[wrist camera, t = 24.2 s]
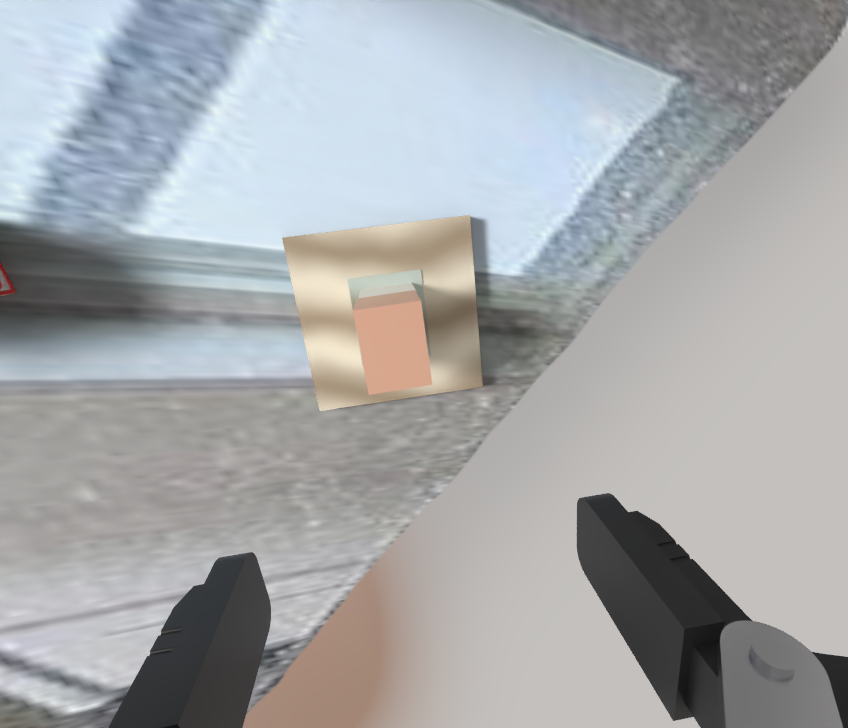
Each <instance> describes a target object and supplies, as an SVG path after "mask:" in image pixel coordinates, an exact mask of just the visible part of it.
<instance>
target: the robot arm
mask: <svg viewBox="0 0 848 728" xmlns="http://www.w3.org/2000/svg"><path fill="white" fill-rule="evenodd" d="M577 552H578V557H579V560H580V563H581V566H582V569H583V571H584V573H585V575H586V576H587V578H588V580H589V581H590V583H591V585H592V586H593V588H594V590H595V591H596V593H597V595H598V596H599V598H600V600H601V601H602V603H603V605H604V606H605V608H606V610H607V611H608V613H609V615H610V616H611V618H612V620H613V621H614V623H615V625H616V626H617V628H618V630H619V631H620V633H621V635H622V636H623V638H624V640H625V641H626V643H627V645H628V646H629V648H630V649H631V651H632V653H633V654H634V656H635V658H636V660H637V661H638V663H639V665H640V666H641V668H642V669H643V671H644V673H645V674H646V676H647V678H648V679H649V681H650V683H651V684H652V686H653V688H654V689H655V691H656V693H657V694H658V696H659V698H660V699H661V701H662V703H663V704H664V706H665V708H666V709H667V711H668V713H669V714H670V716H671V718H672V719H673V721H675V720H680V719H684V718H689V717H694V718H695V719H696V721H697V722H698V724H699V726H700V727H701V728H848V657H843V656H834V655H827V654H820V653H815V652H811V651H810V650H809V649H808V648H806V647H805V646H804V645H803V644H802V643H800V642H799V641H797V640H796V639H795V638H793V637H792V636H790V635H788V634H787V633H785V632H783V631H781V630H779V629H777V628H774V627H772V626H769V625H767V624H763V623H760V622H754V621H752V620H751V619H750V618H749V617H748V616H747V615H746V614H745V613H744V612H743V611H742V610H741V609H740V608H739V607H738V606H737V605H736V604H735V603H734V602H733V601H732V600H731V599H730V597H728V595H727V594H725V592H724V591H723V590H722V589H721V588H720V587H719V586H718V585H717V584H716V583H715V582H714V581H713V580H712V579H711V578H710V577H709V576H708V574H707V573H706V572H705V571H704V570H703V569H701V567H700V566H699V565H698V564H697V563H696V562H695V561H694V560H693V559H690V557H689V555H688V554H687V553H686V552H685V550H684V549H683V548H682V547H681V546H680V545H679V544H678V545H677V544H676V542H675V540H674V539H673V538H672V537H671V536H670V535H669V534H668V533H667V532H666V531H665V530H664V529H663V528H662V527H661V525H660V524H658V523H657V522H655V521H653V520H652V519H650V518H648V517H647V516H645V515H643V514H641V513H640V512H638V511H634V512H627V510H625V508H624V507H623V506H622V505H621V504H620V502H619V501H618V500H617V499H616V498H615V497H614V496H613V495H612V494H609V493H607V494H601V495H595V496H589V497H584V498H579V500H578V503H577ZM270 621H271V606H270V600H269V596H268V593H267V590H266V587H265V583H264V580H263V577H262V574H261V571H260V567H259V564H258V561H257V558H256V556H255V554H254V553H252V552H250V553H244V554H239V555H233V556H227V557H221V558H218V559H217V560H216V562H215V563H214V565H213V567H212V569H211V571H210V573H209V575H208V577H207V579H206V581H205V583H204V584H203V585H197V586H194V587H193V588H192V589H191V590H190V591H189V592H188V593H187V594H186V595H185V596H184V597H183V598H182V599H181V600H180V602H179V603H178V604H177V605H176V606H175V607H174V608H173V610H172V612H171V614H170V616H169V617H168V619H167V621H166V623H165V625H164V627H163V628H162V630H161V635H160V636H158V638H157V639H156V641H155V643H154V645H153V647H152V649H151V650H150V656H147V658H146V660H145V661H144V663H143V665H142V667H141V669H140V671H139V672H138V674H137V676H136V678H135V680H134V682H133V684H132V685H131V687H130V689H129V691H128V693H127V695H126V696H125V698H124V700H123V702H122V704H121V706H120V707H119V709H118V711H117V713H116V715H115V717H114V718H113V720H112V722H111V724H110V726H109V728H242V727H243V723H244V719H245V716H246V712H247V709H248V705H249V701H250V698H251V694H252V690H253V687H254V683H255V679H256V676H257V672H258V669H259V665H260V661H261V658H262V654H263V650H264V647H265V643H266V640H267V636H268V632H269V628H270Z"/></svg>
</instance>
